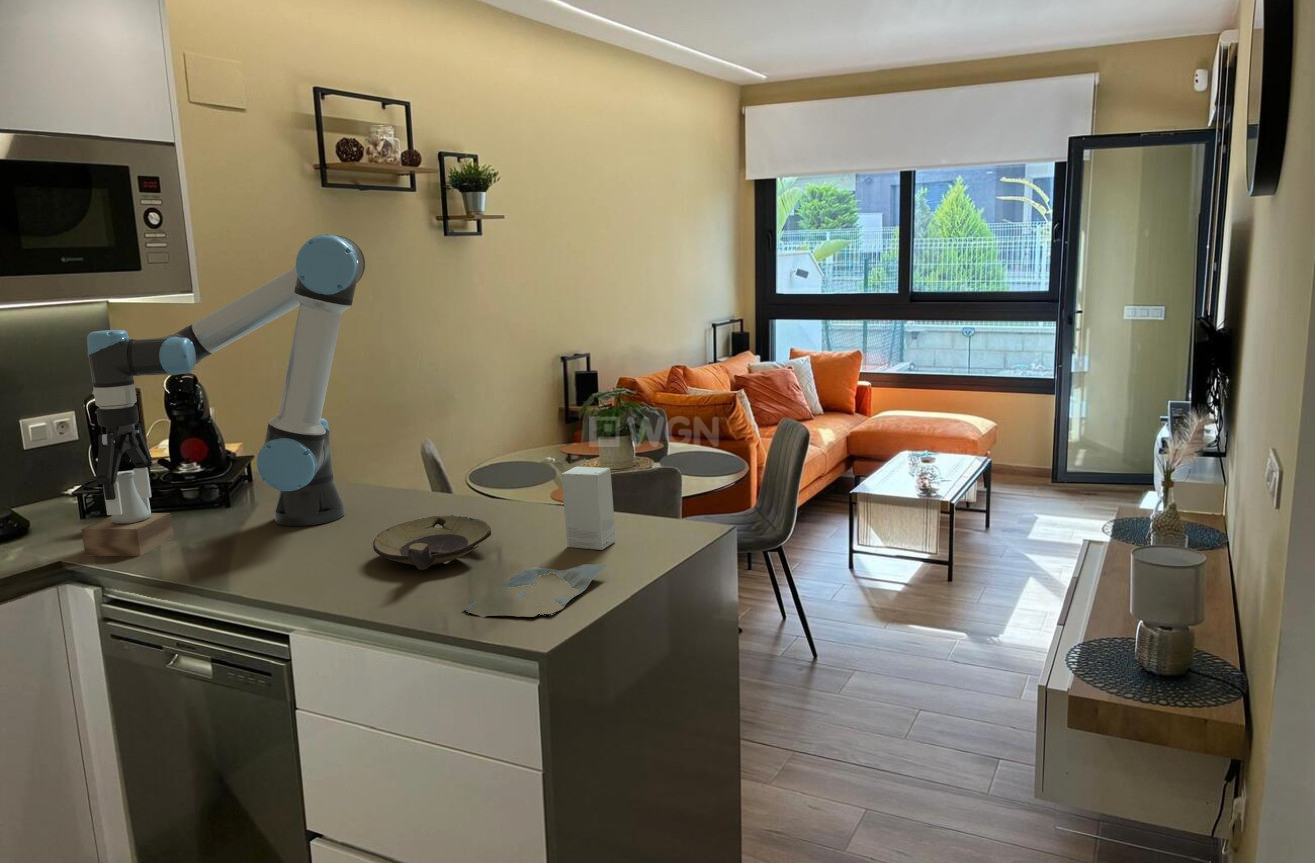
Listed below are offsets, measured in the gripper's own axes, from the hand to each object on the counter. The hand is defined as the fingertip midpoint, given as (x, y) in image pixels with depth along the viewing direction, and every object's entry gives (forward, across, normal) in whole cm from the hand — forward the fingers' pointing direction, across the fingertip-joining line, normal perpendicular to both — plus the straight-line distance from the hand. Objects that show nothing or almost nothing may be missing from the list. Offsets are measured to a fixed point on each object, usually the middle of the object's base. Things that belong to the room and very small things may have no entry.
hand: (130, 505), depth 207 cm
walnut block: (+9, +1, -1) cm, 9 cm away
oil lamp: (+9, +21, +64) cm, 68 cm away
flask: (+3, 0, 0) cm, 3 cm away
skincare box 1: (+9, -19, -8) cm, 22 cm away
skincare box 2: (+9, +16, +96) cm, 98 cm away
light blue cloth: (+9, +43, +86) cm, 97 cm away
